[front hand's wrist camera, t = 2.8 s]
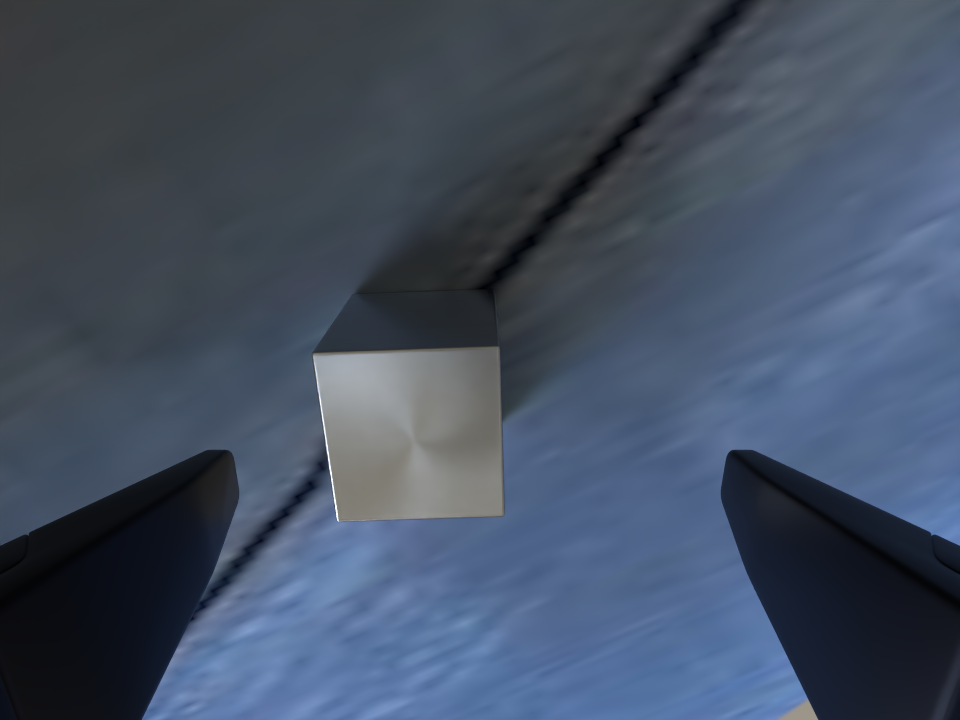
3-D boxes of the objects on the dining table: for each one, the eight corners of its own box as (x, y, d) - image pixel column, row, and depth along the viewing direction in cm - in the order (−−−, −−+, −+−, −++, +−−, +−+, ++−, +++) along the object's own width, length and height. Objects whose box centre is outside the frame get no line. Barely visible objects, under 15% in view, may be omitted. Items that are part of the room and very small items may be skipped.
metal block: (499, 426, 20) (504, 517, 15) (368, 430, 20) (336, 523, 15) (495, 288, 18) (500, 346, 14) (351, 293, 18) (310, 353, 14)
